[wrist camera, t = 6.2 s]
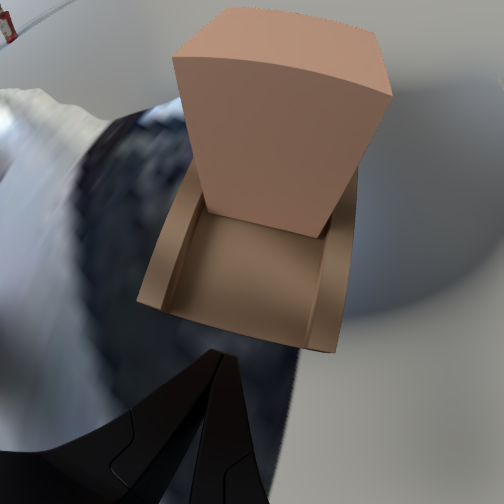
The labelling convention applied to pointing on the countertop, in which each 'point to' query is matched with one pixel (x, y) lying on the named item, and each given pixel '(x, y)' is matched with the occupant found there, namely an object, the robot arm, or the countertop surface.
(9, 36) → the liquor
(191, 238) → the chute
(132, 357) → the countertop surface
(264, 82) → the block
